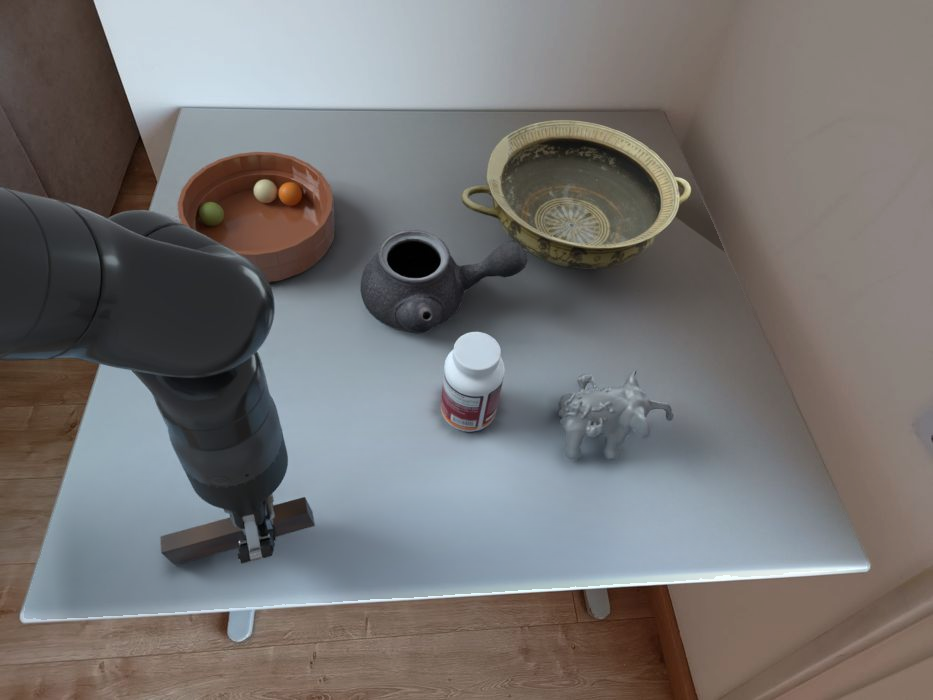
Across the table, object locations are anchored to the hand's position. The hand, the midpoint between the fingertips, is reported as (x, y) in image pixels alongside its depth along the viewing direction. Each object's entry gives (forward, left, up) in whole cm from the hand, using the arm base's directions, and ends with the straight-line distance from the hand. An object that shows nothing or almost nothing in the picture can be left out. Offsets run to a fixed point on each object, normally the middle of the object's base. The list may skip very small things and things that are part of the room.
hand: (262, 529), depth 67 cm
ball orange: (+10, +46, +1) cm, 47 cm away
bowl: (+5, +40, -2) cm, 41 cm away
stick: (-2, 0, -1) cm, 2 cm away
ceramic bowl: (+44, +32, -2) cm, 54 cm away
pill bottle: (+23, +9, -2) cm, 25 cm away
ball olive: (-1, +43, -1) cm, 43 cm away
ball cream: (+5, +46, 0) cm, 46 cm away
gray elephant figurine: (+37, +3, -2) cm, 37 cm away
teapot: (+24, +24, -2) cm, 34 cm away
